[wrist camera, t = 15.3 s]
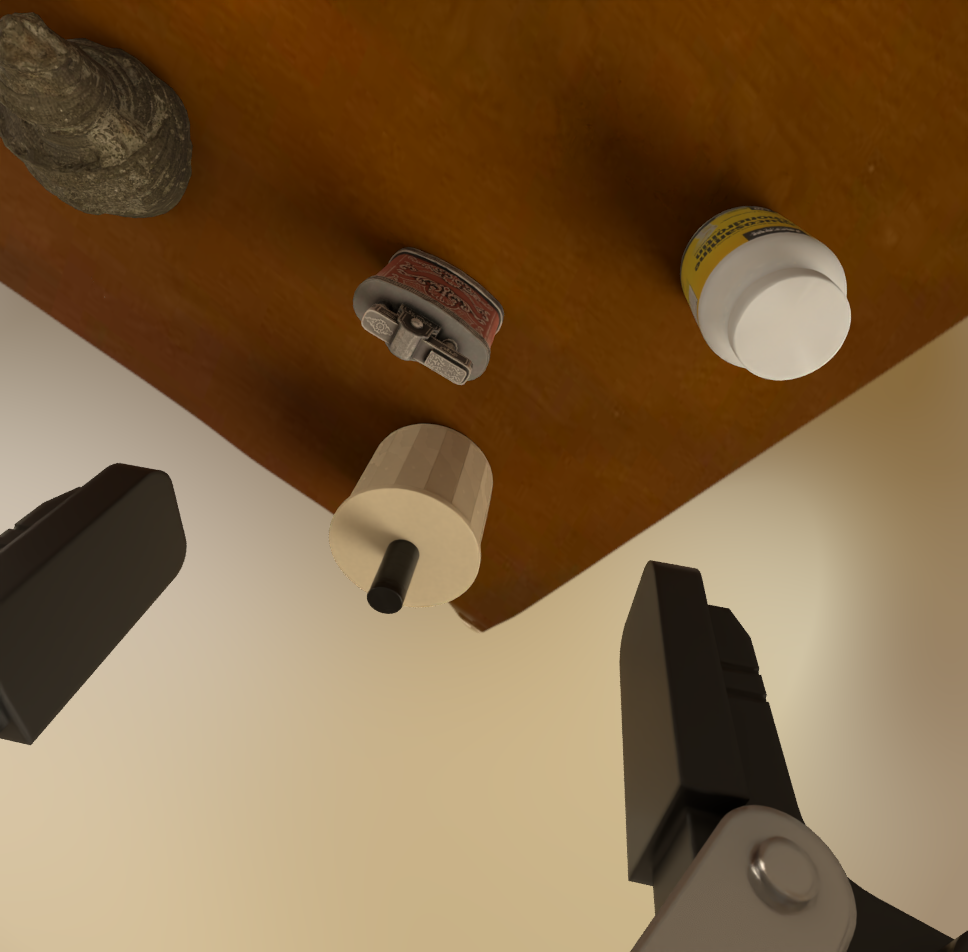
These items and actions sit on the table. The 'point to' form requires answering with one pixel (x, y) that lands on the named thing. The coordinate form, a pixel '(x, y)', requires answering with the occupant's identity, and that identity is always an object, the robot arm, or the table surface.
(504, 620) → the table surface
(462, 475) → the pot
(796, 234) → the pill bottle
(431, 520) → the pot lid
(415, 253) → the lighter
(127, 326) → the table surface
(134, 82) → the seashell
